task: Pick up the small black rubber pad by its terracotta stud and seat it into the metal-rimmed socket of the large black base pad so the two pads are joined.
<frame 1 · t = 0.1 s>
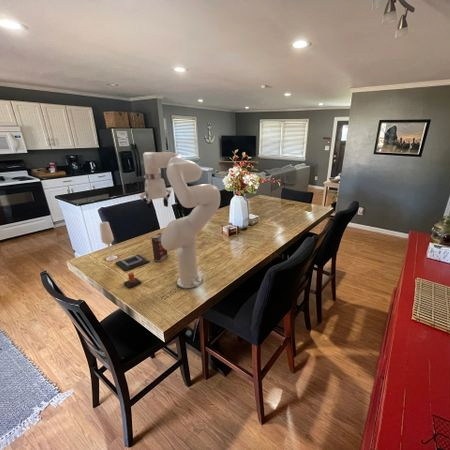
hand: (157, 208, 131), 37 cm above the table, tool pointing down, fingers open, 9 cm apart
base pad: (132, 262, 148), on the table
stud pad: (132, 283, 126), on the table
supplement box: (161, 258, 154), on the table
champagne flute: (111, 258, 153), on the table
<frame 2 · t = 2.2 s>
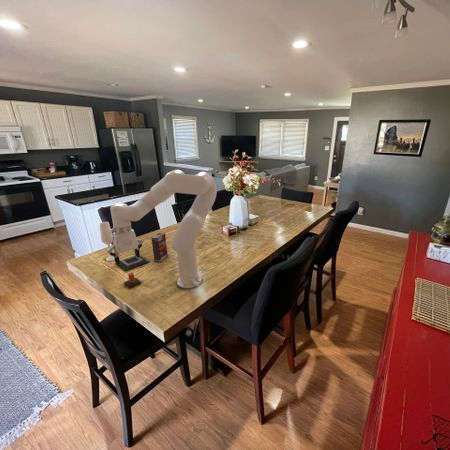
hand: (128, 259, 122), 14 cm above the table, tool pointing down, fingers open, 9 cm apart
nothing on the table moved.
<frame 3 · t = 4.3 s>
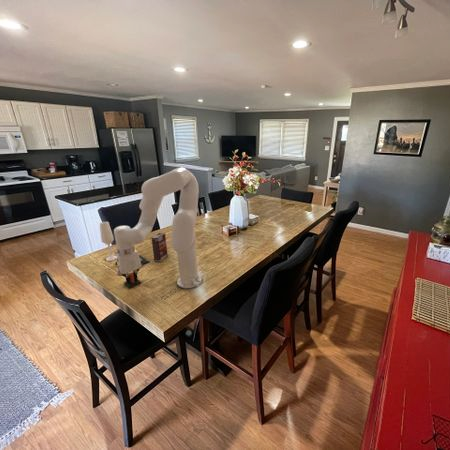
hand: (132, 281, 126), 2 cm above the table, tool pointing down, fingers closed on stud pad, 2 cm apart
stud pad: (132, 283, 126), on the table, touching gripper
everything else where it was.
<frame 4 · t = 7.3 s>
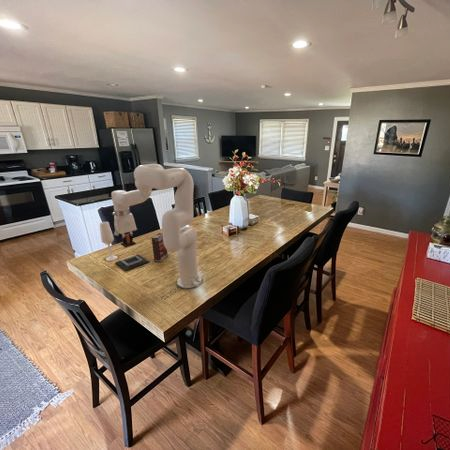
hand: (128, 242, 140), 15 cm above the table, tool pointing down, fingers closed on stud pad, 2 cm apart
stud pad: (128, 244, 141), point 14 cm above the table, touching gripper
everything else where it was.
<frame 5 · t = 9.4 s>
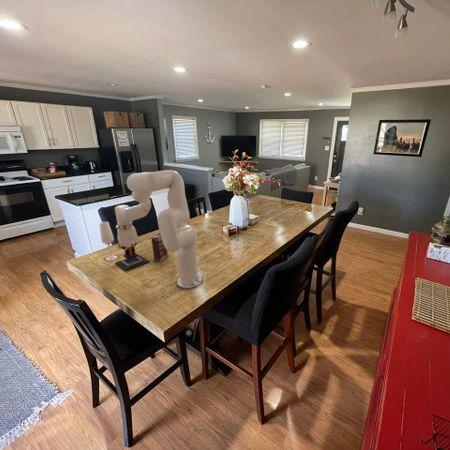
hand: (130, 254, 146), 6 cm above the table, tool pointing down, fingers closed on stud pad, 2 cm apart
stud pad: (130, 256, 146), point 4 cm above the table, touching gripper
everything else where it was.
when the fingers open (2 cm above the table, at t = 10.6 s): stud pad stays where it is, resting on base pad.
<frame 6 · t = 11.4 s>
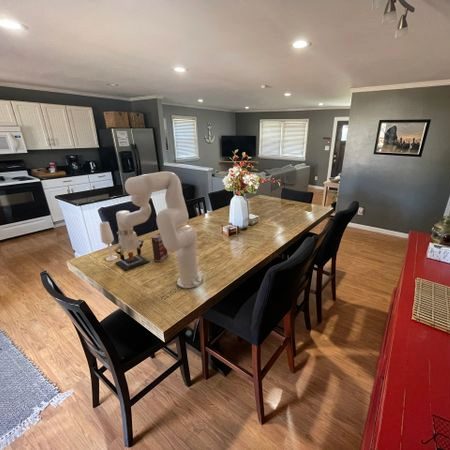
hand: (131, 257, 146), 4 cm above the table, tool pointing down, fingers open, 9 cm apart
stud pad: (131, 261, 147), point 1 cm above the table, touching base pad
everything else where it was.
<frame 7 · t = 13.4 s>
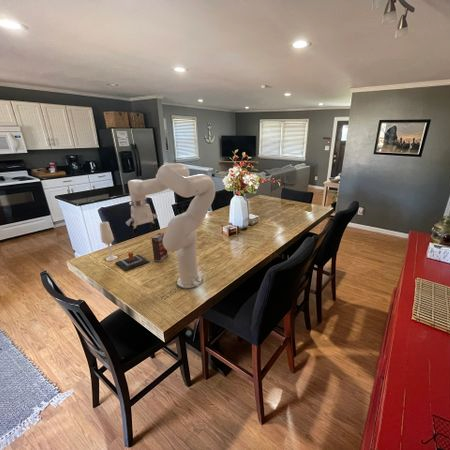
hand: (144, 232, 134), 23 cm above the table, tool pointing down, fingers open, 9 cm apart
nothing on the table moved.
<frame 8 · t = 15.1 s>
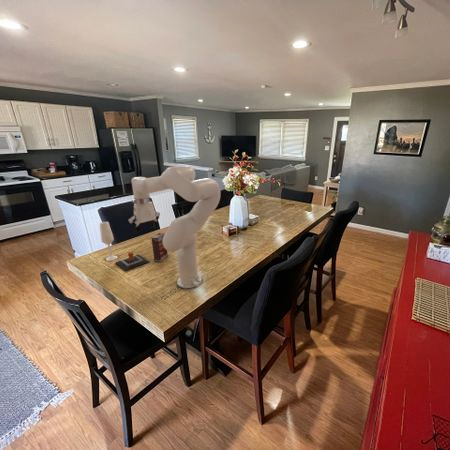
hand: (147, 230, 133), 24 cm above the table, tool pointing down, fingers open, 9 cm apart
nothing on the table moved.
at the end: stud pad 0.1 cm off-centre on the base pad, point 0.8 cm above the base pad's base; stud pad tilted 0°; the gripper is holding nothing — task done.
